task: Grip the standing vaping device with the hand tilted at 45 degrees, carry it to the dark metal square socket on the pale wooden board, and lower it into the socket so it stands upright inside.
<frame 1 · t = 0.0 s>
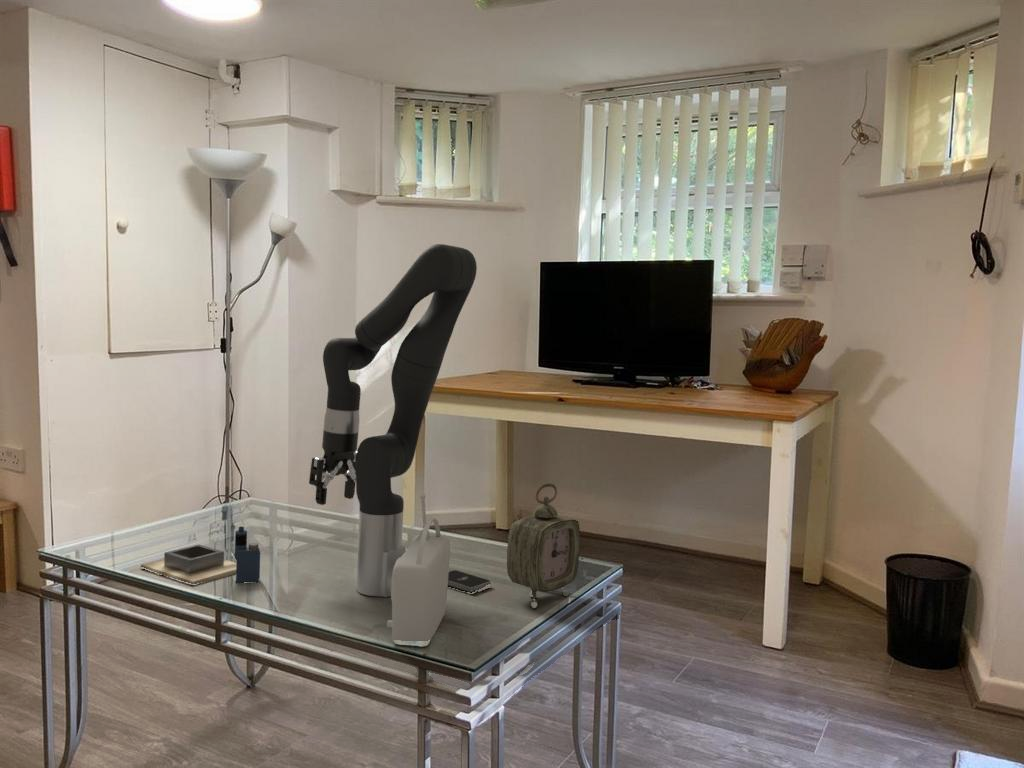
hand: (335, 500, 176), 17 cm above the table, tool pointing down, fingers open, 8 cm apart
tabletop clock: (539, 600, 169), on the table
square socket: (194, 558, 177), on the mounting board, point 2 cm above the table
mounting board: (194, 569, 177), on the table
vaping device: (246, 582, 171), on the table
external hard drive: (462, 588, 176), on the table
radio: (416, 630, 149), on the table
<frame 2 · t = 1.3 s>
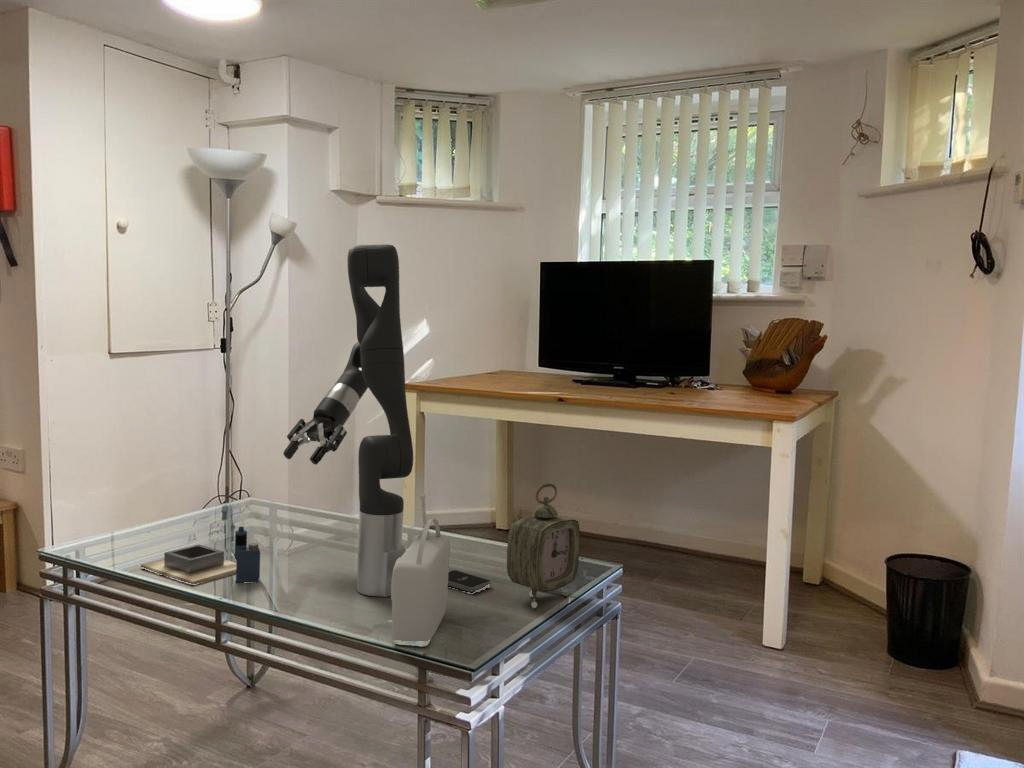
hand: (299, 459, 181), 25 cm above the table, tool tilted 45°, fingers open, 8 cm apart
nothing on the table moved.
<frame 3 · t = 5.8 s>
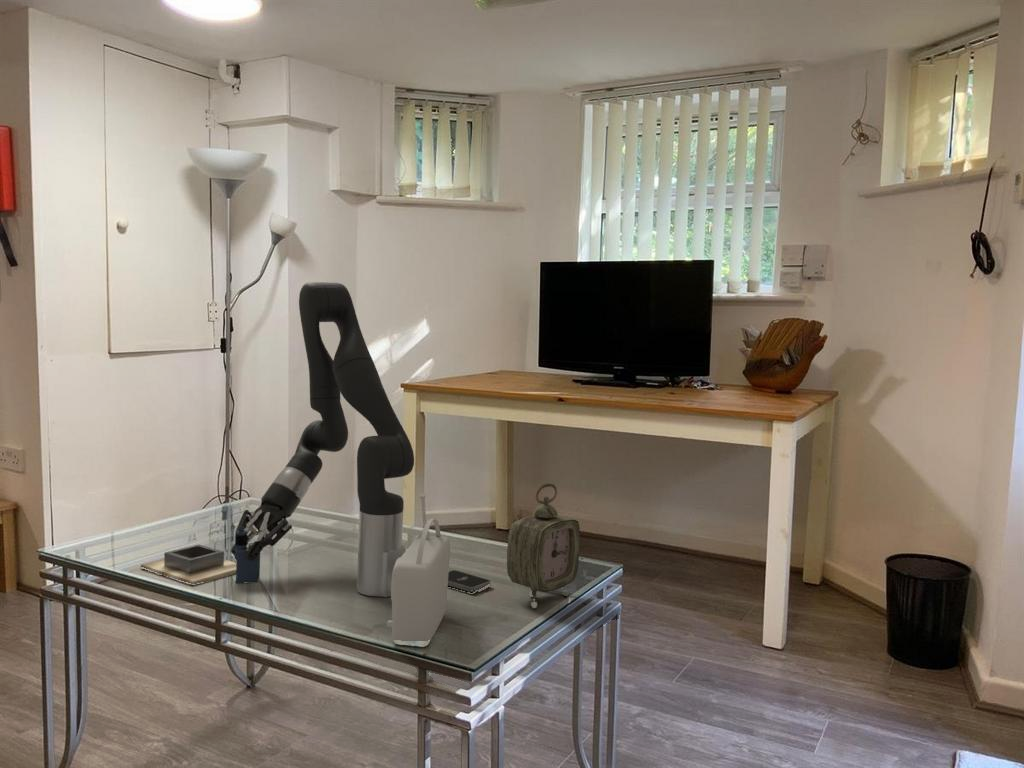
hand: (241, 556, 169), 6 cm above the table, tool tilted 45°, fingers closed on vaping device, 4 cm apart
vaping device: (246, 582, 171), on the table, touching gripper
everything else where it was.
when the fingers open (8 cm above the table, at t = 11.5 s): vaping device drops 1 cm, resting on mounting board.
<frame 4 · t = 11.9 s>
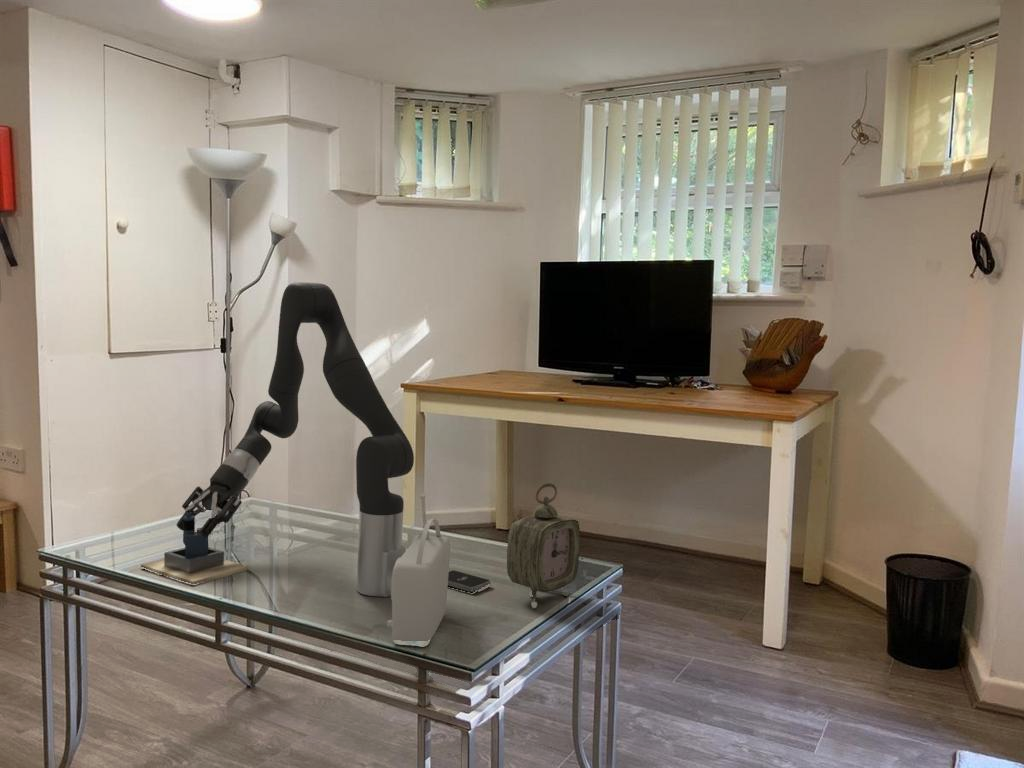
hand: (191, 531, 176), 9 cm above the table, tool tilted 45°, fingers open, 7 cm apart
vaping device: (195, 565, 177), point 1 cm above the table, touching mounting board
everything else where it was.
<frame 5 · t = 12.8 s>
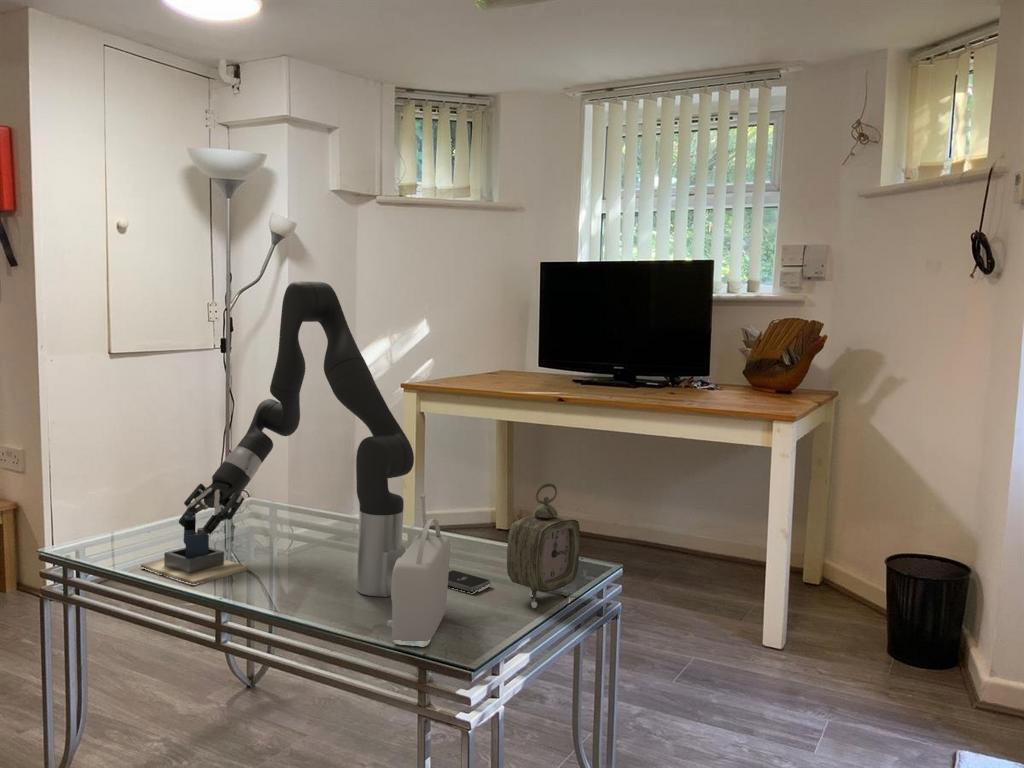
hand: (193, 528, 176), 9 cm above the table, tool tilted 45°, fingers open, 8 cm apart
nothing on the table moved.
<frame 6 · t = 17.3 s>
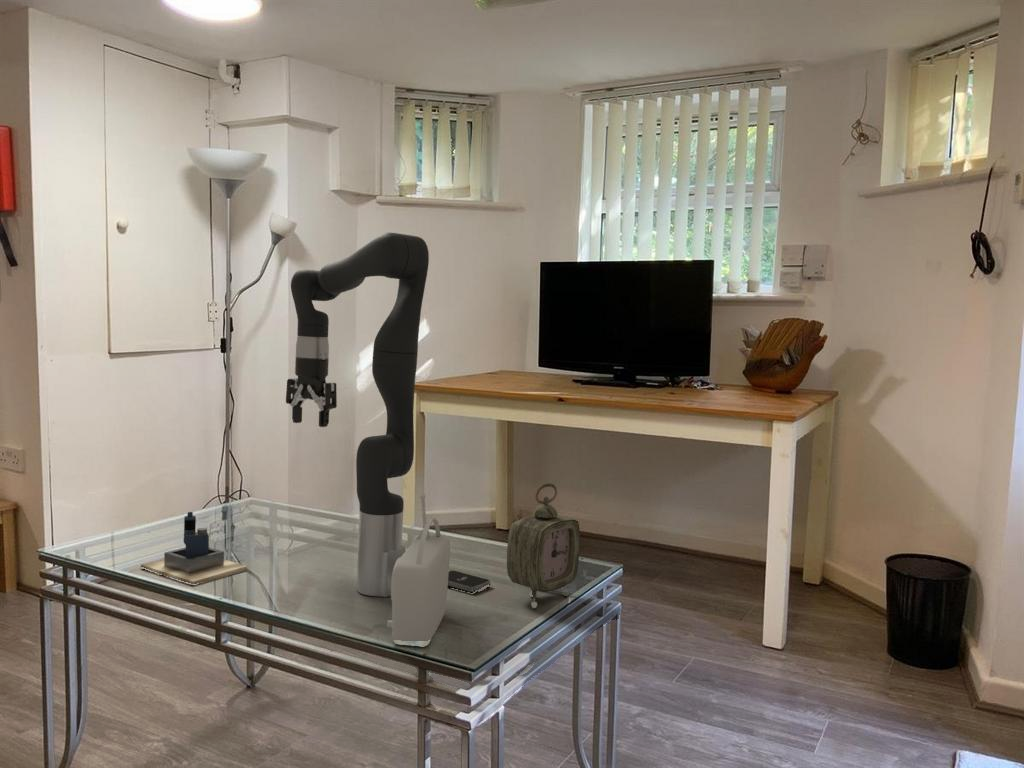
hand: (310, 424, 187), 32 cm above the table, tool pointing down, fingers open, 8 cm apart
nothing on the table moved.
at the end: vaping device 0.4 cm off-centre on the square socket, point 0.8 cm above the square socket's base; vaping device tilted 0°; the gripper is holding nothing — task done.
